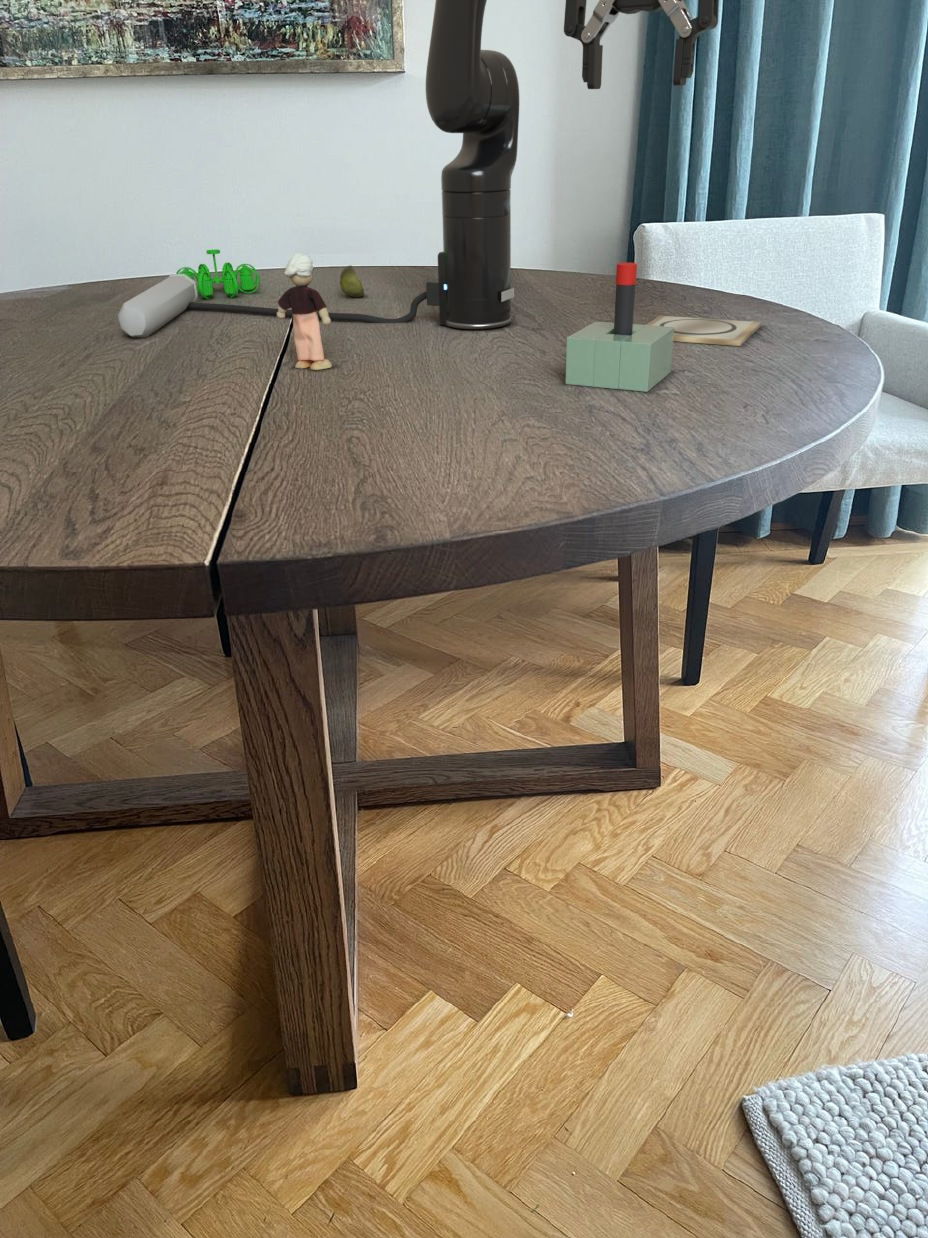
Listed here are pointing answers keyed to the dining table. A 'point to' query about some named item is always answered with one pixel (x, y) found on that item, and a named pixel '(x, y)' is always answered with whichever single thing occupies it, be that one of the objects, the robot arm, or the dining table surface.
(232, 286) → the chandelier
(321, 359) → the grandmother figurine
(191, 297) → the tube
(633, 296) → the marker
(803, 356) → the dining table surface
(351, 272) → the lime
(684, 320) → the square wooden coaster
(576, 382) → the pen stand
